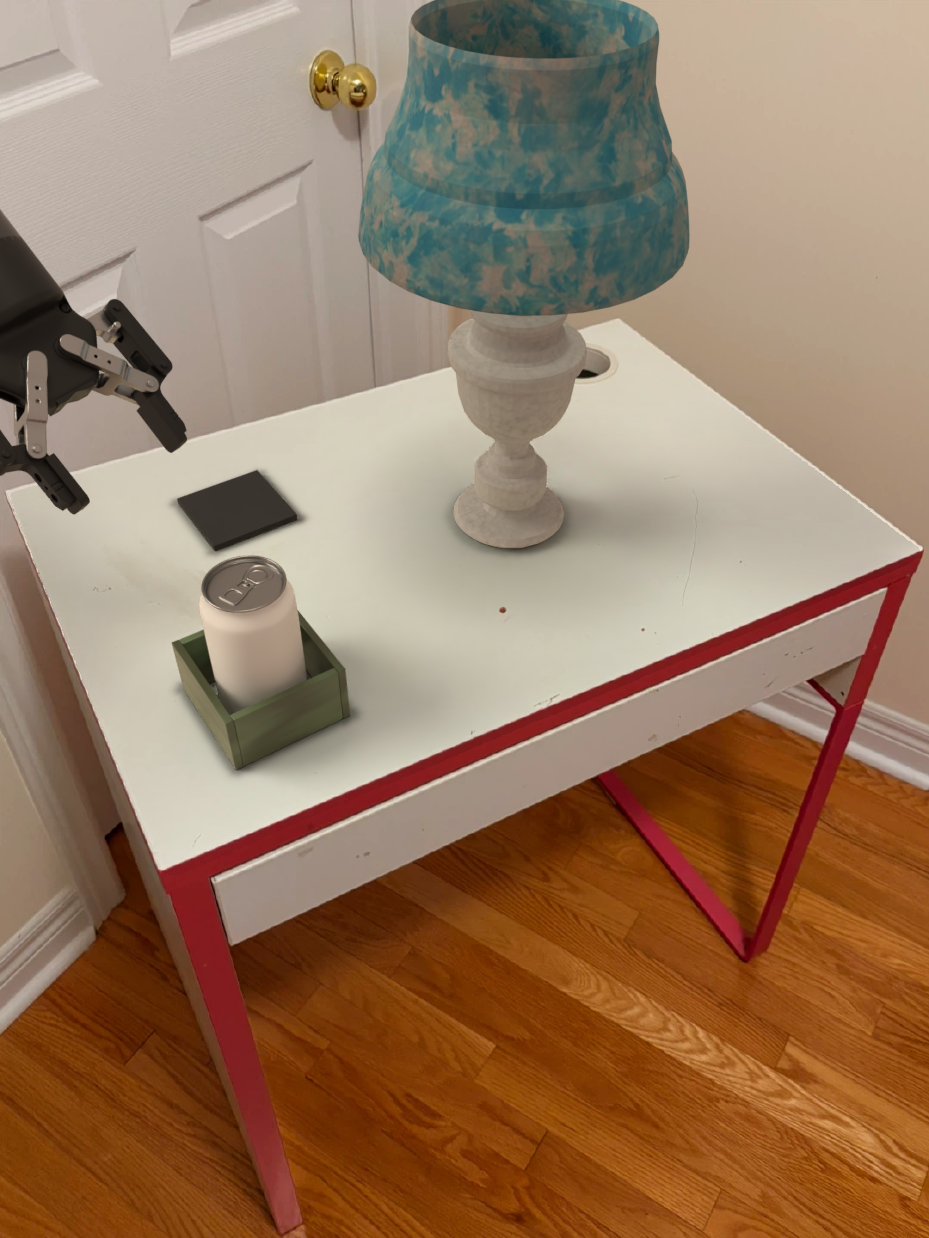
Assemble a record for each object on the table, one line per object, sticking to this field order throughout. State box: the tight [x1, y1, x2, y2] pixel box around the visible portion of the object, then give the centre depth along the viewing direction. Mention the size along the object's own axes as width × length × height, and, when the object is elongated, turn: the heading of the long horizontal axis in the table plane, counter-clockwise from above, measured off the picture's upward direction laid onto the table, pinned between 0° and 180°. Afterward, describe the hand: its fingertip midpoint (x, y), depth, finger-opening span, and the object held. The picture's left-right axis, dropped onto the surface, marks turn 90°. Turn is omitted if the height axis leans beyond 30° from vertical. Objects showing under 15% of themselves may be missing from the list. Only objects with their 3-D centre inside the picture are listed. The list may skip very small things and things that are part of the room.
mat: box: [176, 469, 298, 552], centre depth 94 cm, size 8×8×1 cm
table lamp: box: [357, 0, 691, 549], centre depth 80 cm, size 24×24×40 cm
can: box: [198, 554, 308, 715], centre depth 74 cm, size 6×6×12 cm
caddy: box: [171, 610, 351, 771], centre depth 76 cm, size 9×9×5 cm
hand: (132, 476), depth 70 cm, fingers open, 8 cm apart
